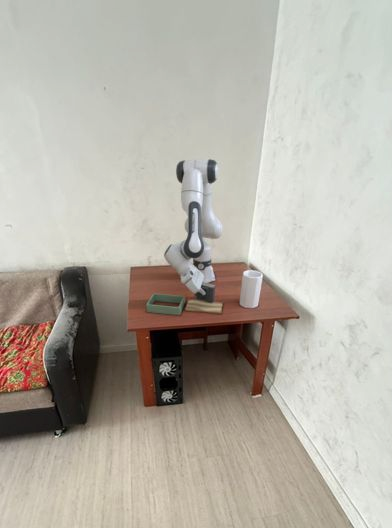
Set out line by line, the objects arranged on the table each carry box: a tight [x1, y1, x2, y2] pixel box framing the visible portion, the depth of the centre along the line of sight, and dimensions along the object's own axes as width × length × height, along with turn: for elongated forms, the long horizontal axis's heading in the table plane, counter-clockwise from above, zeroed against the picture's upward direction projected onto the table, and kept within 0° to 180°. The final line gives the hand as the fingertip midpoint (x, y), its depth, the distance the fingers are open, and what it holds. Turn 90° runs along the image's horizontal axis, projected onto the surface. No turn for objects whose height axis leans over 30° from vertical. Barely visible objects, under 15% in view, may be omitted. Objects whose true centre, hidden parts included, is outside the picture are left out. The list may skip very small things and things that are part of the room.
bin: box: [145, 292, 186, 316], centre depth 164 cm, size 14×18×4 cm
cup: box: [239, 269, 264, 309], centre depth 165 cm, size 11×11×18 cm
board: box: [184, 299, 224, 315], centre depth 166 cm, size 12×20×1 cm, turn 81°
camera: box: [193, 282, 216, 303], centre depth 160 cm, size 11×6×10 cm, turn 64°
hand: (205, 291), depth 160 cm, fingers closed on camera, 6 cm apart
